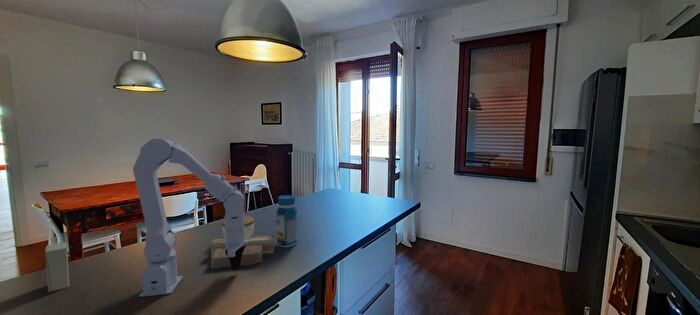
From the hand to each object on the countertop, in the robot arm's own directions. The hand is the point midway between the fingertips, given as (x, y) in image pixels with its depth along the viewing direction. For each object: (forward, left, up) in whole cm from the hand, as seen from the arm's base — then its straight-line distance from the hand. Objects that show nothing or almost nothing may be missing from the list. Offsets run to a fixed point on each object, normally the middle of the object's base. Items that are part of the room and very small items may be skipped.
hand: (236, 269), depth 90 cm
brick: (+9, +1, -2) cm, 10 cm away
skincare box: (+3, +50, -2) cm, 50 cm away
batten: (+16, 0, -2) cm, 16 cm away
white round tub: (+29, +4, -2) cm, 29 cm away
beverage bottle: (+22, -16, -2) cm, 27 cm away
